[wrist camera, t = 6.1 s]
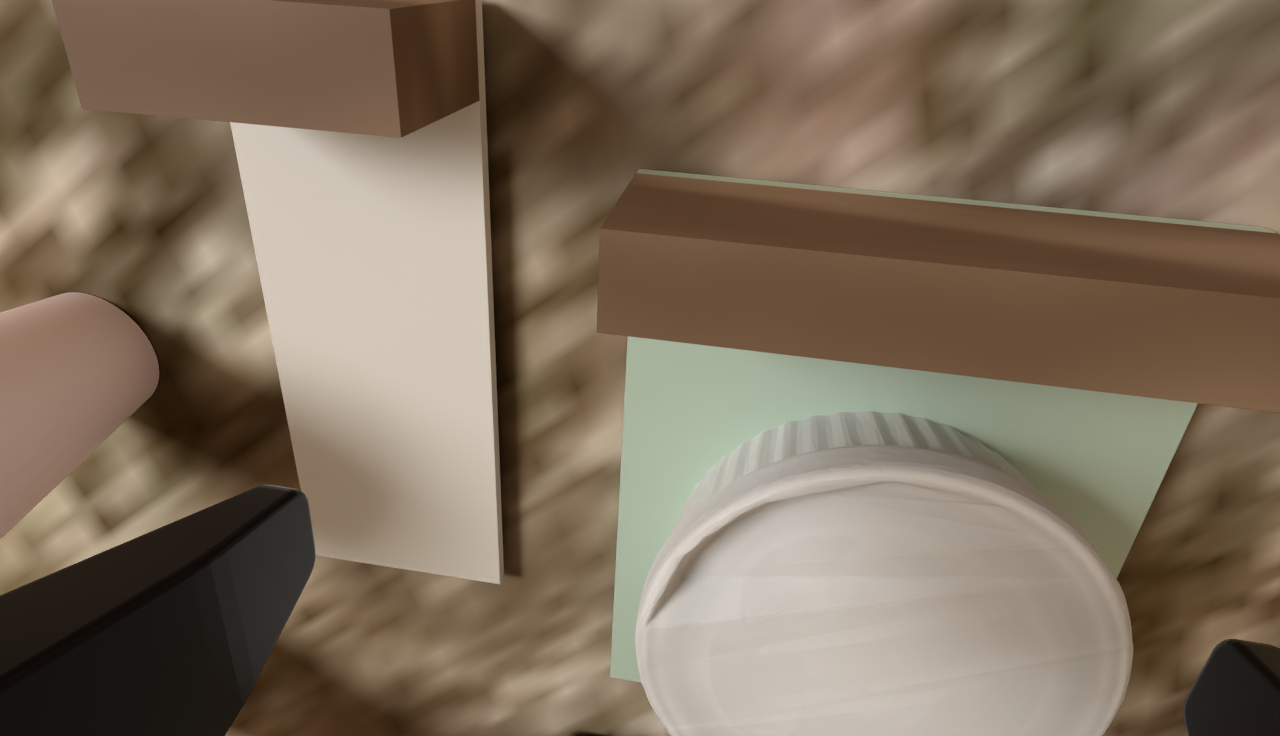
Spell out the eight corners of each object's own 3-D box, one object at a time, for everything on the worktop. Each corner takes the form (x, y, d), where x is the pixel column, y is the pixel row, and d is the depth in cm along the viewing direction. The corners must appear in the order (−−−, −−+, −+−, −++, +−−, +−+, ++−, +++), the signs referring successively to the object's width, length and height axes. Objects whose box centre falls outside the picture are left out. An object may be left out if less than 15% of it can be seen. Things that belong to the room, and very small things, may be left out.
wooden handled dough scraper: (1033, 737, 23) (1084, 889, 20) (612, 666, 25) (582, 796, 21) (1265, 227, 16) (1423, 313, 12) (639, 169, 17) (600, 228, 13)
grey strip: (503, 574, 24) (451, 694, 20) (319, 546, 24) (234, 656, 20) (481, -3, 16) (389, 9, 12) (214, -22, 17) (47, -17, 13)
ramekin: (877, 271, 19) (914, 369, 14) (1145, 548, 21) (1250, 709, 17) (583, 513, 24) (537, 647, 19) (829, 717, 26) (843, 879, 21)
